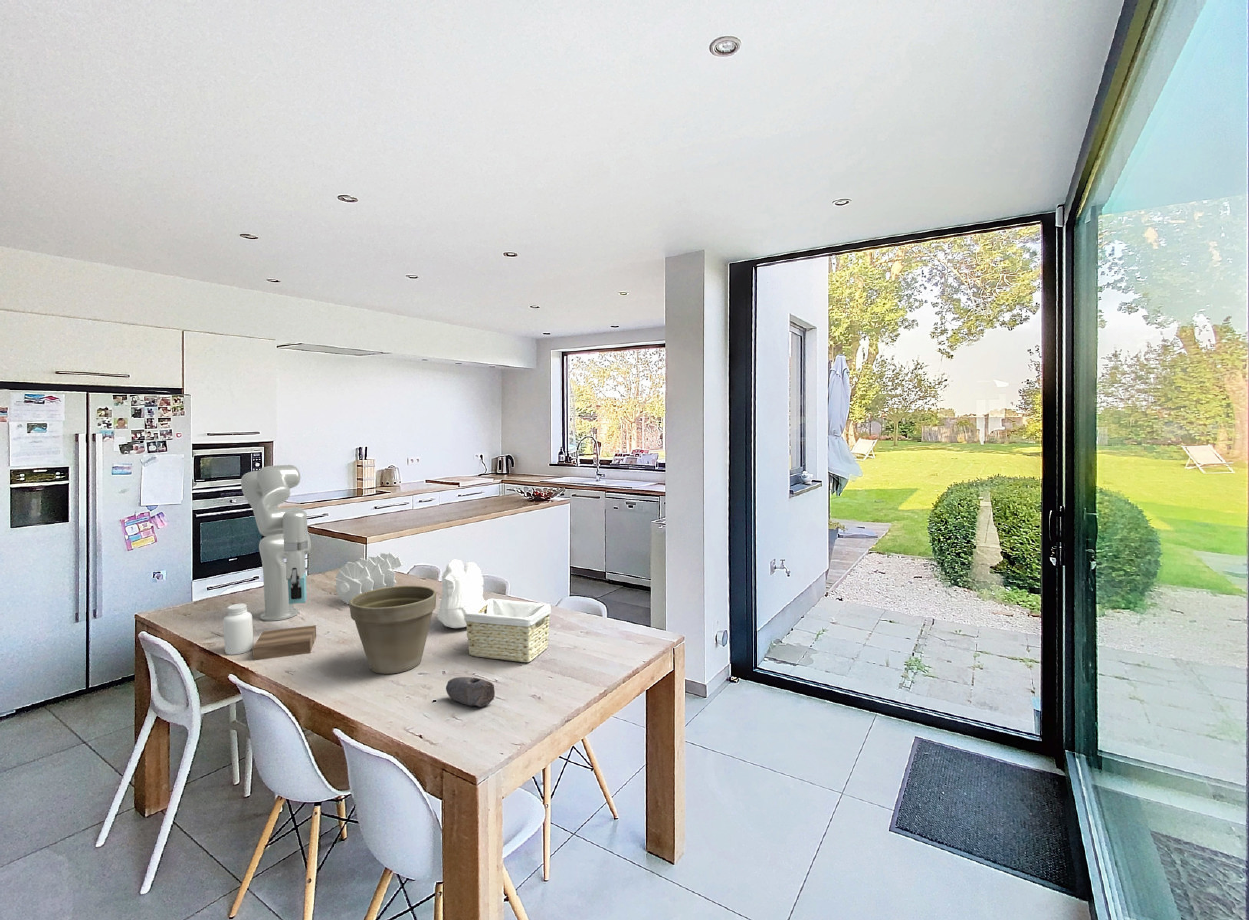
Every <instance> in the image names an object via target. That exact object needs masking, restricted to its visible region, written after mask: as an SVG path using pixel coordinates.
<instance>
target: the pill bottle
mask: <svg viewBox="0 0 1249 920" xmlns="http://www.w3.org/2000/svg"><path fill="white" fill-rule="evenodd" d="M226 610H227V615H225V616H224V618H223V621H222V622H223V639H224V640H223V641H224V652H225V654H226V655H233V656H234V655H240V654H241V655H242V654H245V653H248V652H250V651H253V647H254V630H253V629H254V628H253V615H252V612H250V611H248V608H247V604H246V603H235V604H231V605H228V606H227V608H226Z"/></svg>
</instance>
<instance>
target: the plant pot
mask: <svg viewBox="0 0 1249 920" xmlns="http://www.w3.org/2000/svg"><path fill="white" fill-rule="evenodd" d="M349 603H350V604H349V610H350V618H351V619H352V620H353V621H354V623H355V627H356V630H357V633H358V635H359V639H360V641H361V645H362V648H363V650H364V654H365V657H366V660H367V663H368V666H369V668H370V670H371V671H372V672H374V673H377V674H384V675H386V674H387V675H389V674H390V675H391V674H398V673H402V672H406V671H410V670H412V669H414V668H416V667H418V666H419V664H420V663H421V661H422V657H423V654H424V650H425V646H426V643H427V638H428V633H429V629H430V625H431V620H432V615H433V612H434V611H435V610H436V607H437V591H436V590H435V588H431V587H430V586H429V587H428V586H422V585H397V586H396V585H394V586H393V587H386V588H380V589H375V590H371V591H367V592H364V593H361V594H359V595H356V596H355V597H353V598H352V599H351V600H350V602H349Z"/></svg>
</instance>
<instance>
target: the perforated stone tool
mask: <svg viewBox="0 0 1249 920" xmlns="http://www.w3.org/2000/svg"><path fill="white" fill-rule="evenodd" d="M445 690H446V693H447V695H448V696H449V698H450V699H452V700H454V701H455V702H459V703H461V704H464V705H466V706H472V707H473V706H477V707H479V708H483V707H484V706H486V705H489V704H490V703H491V702H492V701H493V700H494V698H495V696H496V695H495V692H496V690H495V685H494V684H493V682H491V681H488V680H485V679H483V678H478V677H469V676H468V677H467V676H458V677H453V678H451V679H449V680H448V681H447V683H446V686H445Z"/></svg>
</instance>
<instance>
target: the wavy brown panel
mask: <svg viewBox="0 0 1249 920" xmlns="http://www.w3.org/2000/svg"><path fill="white" fill-rule="evenodd" d="M316 639H317V625H306V626H297V627H290V628H289V627H288V628H281V629H271V630H263V631H262V632H261V634H260V636H259V637H258V638H257V641H255V643H254V644H253V649H252V659H253V661H258V660H267V659H274V658H275V659H276V658H282V657H291V656H297V655H304V654H305V655H306V654H311V652H312V650H313V647H314V645H315V644H314V643H315V641H316Z"/></svg>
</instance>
